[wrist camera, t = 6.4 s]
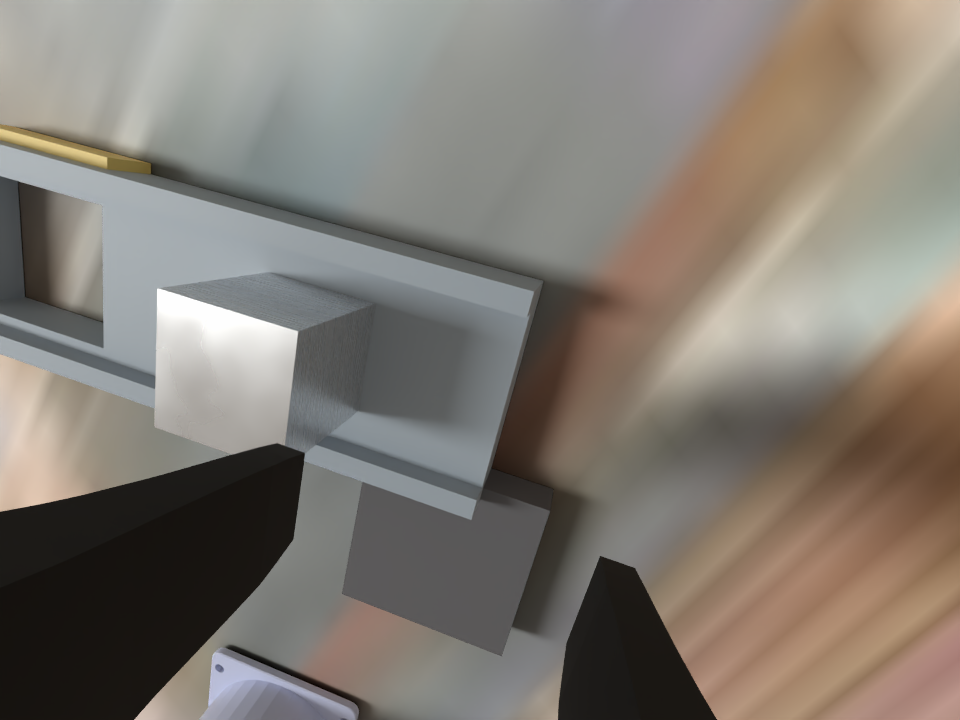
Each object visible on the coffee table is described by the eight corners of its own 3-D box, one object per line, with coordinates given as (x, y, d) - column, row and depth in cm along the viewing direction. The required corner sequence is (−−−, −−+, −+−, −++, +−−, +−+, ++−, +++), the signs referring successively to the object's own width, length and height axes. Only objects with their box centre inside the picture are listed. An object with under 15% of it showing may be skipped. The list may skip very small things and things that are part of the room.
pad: (507, 627, 21) (501, 656, 19) (358, 569, 22) (342, 593, 20) (553, 489, 19) (550, 511, 17) (384, 432, 20) (368, 449, 18)
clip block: (358, 411, 17) (281, 472, 13) (258, 378, 18) (154, 427, 14) (376, 303, 16) (298, 331, 12) (268, 271, 17) (157, 288, 12)
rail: (486, 487, 19) (468, 529, 17) (-4, 320, 23) (-83, 333, 20) (546, 269, 16) (537, 278, 14) (-21, 117, 20) (-114, 101, 17)
